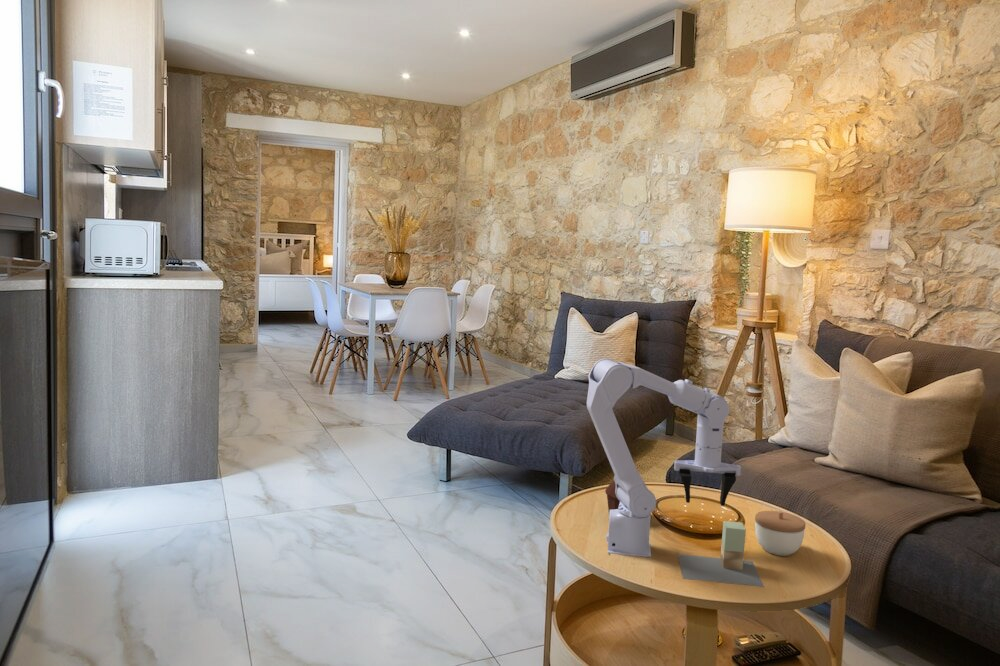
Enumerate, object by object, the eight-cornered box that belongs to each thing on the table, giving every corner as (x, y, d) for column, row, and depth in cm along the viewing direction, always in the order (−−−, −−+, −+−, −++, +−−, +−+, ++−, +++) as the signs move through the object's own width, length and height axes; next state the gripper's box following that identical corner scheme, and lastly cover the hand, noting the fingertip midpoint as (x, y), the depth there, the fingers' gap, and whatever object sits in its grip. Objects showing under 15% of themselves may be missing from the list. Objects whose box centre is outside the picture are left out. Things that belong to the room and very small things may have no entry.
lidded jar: (772, 563, 153) (775, 522, 152) (743, 543, 163) (746, 505, 162) (813, 559, 156) (816, 519, 155) (782, 540, 166) (785, 502, 165)
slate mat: (683, 580, 143) (683, 578, 143) (677, 555, 155) (677, 554, 155) (763, 588, 141) (764, 586, 141) (752, 563, 153) (752, 561, 153)
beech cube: (723, 568, 149) (724, 550, 148) (720, 560, 153) (721, 542, 152) (742, 569, 148) (743, 552, 148) (739, 562, 152) (740, 544, 152)
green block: (724, 550, 148) (726, 527, 148) (721, 542, 152) (723, 520, 152) (744, 552, 148) (745, 529, 147) (740, 544, 152) (742, 522, 151)
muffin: (599, 509, 183) (601, 472, 182) (640, 508, 184) (642, 472, 183) (611, 526, 171) (613, 487, 170) (655, 526, 172) (657, 487, 171)
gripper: (677, 447, 156) (673, 505, 157) (745, 452, 153) (740, 511, 155) (675, 439, 163) (671, 495, 164) (739, 444, 160) (735, 501, 162)
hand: (704, 502), depth 160 cm, fingers open, 7 cm apart
